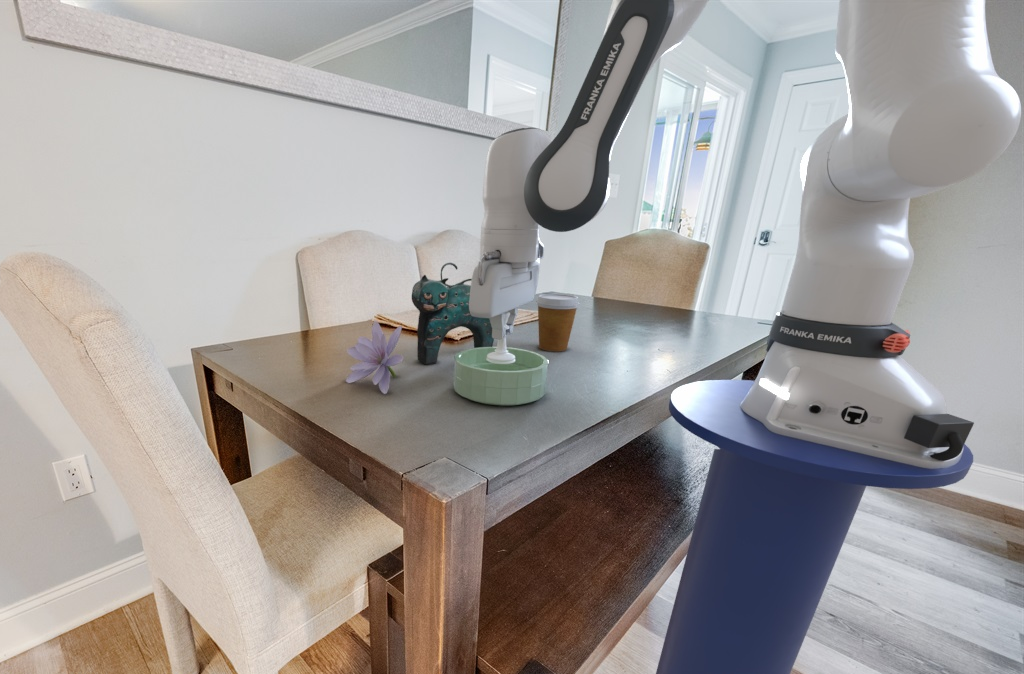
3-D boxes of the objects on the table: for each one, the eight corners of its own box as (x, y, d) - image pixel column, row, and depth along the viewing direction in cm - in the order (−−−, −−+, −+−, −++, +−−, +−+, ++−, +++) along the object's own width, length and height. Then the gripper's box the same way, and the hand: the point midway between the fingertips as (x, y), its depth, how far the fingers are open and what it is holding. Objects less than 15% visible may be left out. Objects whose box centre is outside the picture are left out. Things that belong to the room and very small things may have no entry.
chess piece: (484, 355, 81) (488, 298, 77) (513, 356, 80) (517, 298, 77) (487, 364, 76) (491, 302, 72) (517, 364, 76) (522, 303, 72)
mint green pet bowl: (563, 394, 79) (567, 360, 77) (500, 416, 70) (503, 378, 68) (497, 372, 90) (499, 342, 88) (435, 388, 82) (436, 355, 79)
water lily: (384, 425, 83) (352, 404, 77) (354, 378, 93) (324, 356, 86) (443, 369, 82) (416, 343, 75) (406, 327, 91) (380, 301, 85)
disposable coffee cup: (582, 349, 107) (589, 297, 103) (554, 355, 102) (560, 301, 98) (550, 341, 114) (556, 292, 110) (523, 346, 109) (527, 295, 105)
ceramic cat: (420, 367, 93) (421, 265, 86) (406, 359, 98) (405, 262, 91) (499, 355, 102) (505, 261, 95) (481, 348, 107) (486, 259, 100)
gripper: (502, 253, 62) (495, 353, 67) (547, 247, 78) (540, 327, 83) (460, 251, 65) (457, 347, 70) (512, 246, 81) (507, 323, 86)
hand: (502, 336), depth 77 cm, fingers closed on chess piece
